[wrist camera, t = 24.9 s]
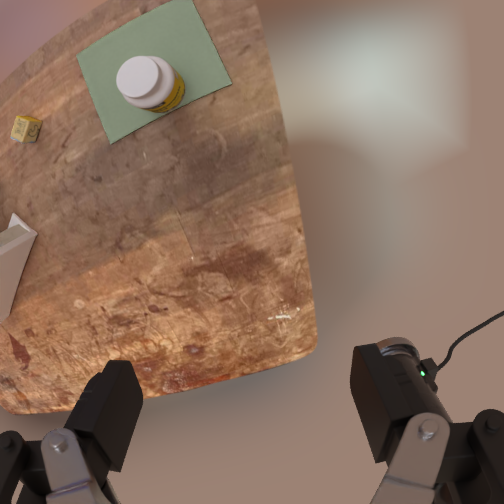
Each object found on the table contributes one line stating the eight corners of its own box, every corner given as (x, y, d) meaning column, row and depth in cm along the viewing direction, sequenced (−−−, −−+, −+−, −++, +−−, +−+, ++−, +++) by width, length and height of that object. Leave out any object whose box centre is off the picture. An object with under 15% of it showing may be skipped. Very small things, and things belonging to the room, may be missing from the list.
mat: (188, -6, 28) (188, -7, 27) (232, 84, 32) (232, 83, 32) (77, 55, 30) (76, 55, 29) (111, 144, 34) (110, 144, 34)
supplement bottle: (158, 123, 33) (127, 117, 24) (134, 89, 32) (98, 75, 22) (196, 94, 32) (177, 78, 23) (170, 61, 31) (145, 36, 21)
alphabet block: (22, 136, 33) (9, 137, 30) (28, 115, 32) (15, 115, 29) (36, 142, 33) (22, 144, 30) (43, 121, 32) (30, 121, 29)
